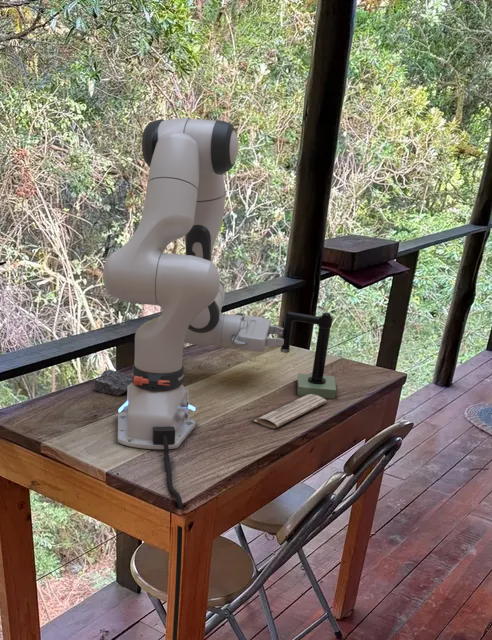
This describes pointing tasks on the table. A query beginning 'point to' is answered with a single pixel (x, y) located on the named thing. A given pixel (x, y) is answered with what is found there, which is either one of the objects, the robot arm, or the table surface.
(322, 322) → the spout
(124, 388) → the rock
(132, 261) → the robot arm
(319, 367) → the tap pillar
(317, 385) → the block
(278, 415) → the beige flat ridged bar
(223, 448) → the table surface
